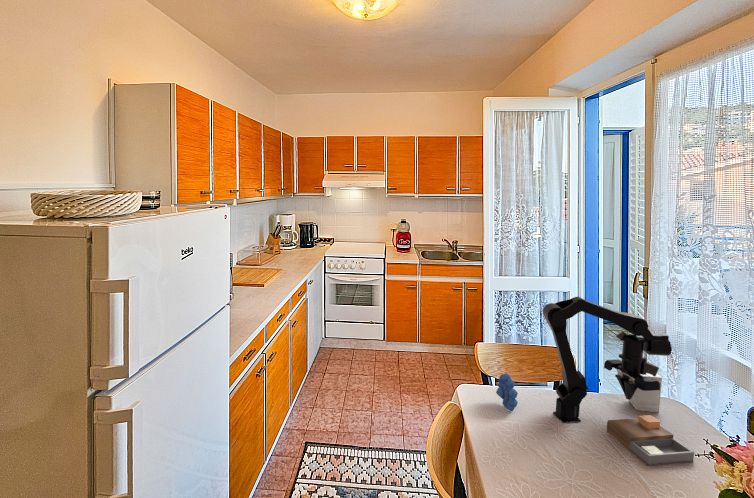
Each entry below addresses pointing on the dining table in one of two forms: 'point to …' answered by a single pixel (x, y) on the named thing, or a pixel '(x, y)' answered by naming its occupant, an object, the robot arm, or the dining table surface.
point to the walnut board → (634, 431)
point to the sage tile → (651, 449)
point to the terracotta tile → (649, 421)
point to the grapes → (507, 391)
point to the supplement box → (647, 397)
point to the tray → (669, 447)
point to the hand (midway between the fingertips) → (628, 399)
